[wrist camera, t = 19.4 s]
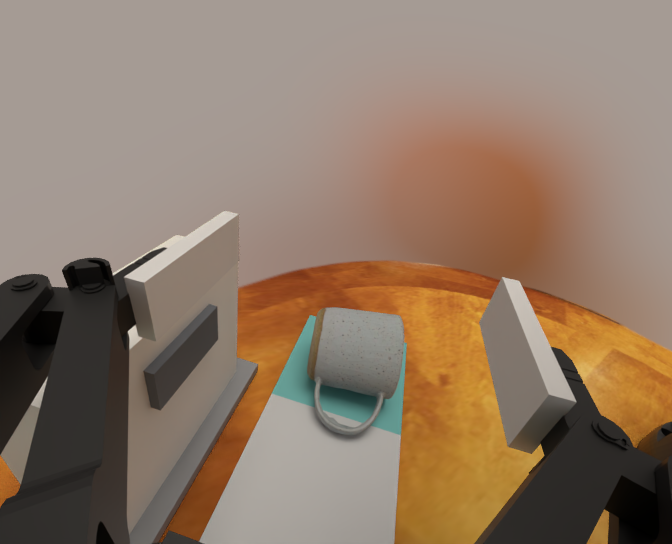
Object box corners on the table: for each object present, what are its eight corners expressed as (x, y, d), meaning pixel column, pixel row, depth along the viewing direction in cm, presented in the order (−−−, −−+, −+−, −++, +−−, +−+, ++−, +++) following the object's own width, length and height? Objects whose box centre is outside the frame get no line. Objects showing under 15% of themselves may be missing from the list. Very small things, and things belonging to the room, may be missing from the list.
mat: (404, 348, 39) (406, 343, 38) (385, 634, 19) (388, 630, 18) (309, 319, 40) (310, 315, 40) (193, 559, 20) (192, 554, 19)
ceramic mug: (312, 341, 36) (322, 285, 32) (384, 354, 36) (404, 301, 32) (293, 432, 27) (304, 371, 23) (390, 449, 27) (418, 392, 23)
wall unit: (257, 371, 32) (265, 248, 25) (125, 598, 18) (53, 468, 11) (184, 347, 33) (171, 222, 26) (2, 548, 19) (-143, 393, 11)
